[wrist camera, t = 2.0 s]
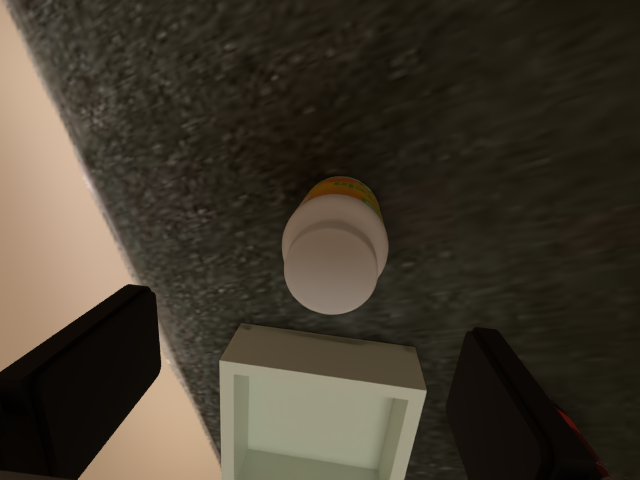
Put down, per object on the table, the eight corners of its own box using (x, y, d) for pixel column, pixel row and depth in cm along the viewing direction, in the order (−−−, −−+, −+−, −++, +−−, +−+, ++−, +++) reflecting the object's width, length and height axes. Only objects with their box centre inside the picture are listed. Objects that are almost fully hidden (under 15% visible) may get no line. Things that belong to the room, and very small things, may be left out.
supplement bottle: (395, 202, 22) (423, 256, 13) (352, 263, 24) (350, 349, 15) (327, 159, 22) (306, 184, 12) (288, 225, 23) (245, 289, 14)
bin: (241, 322, 27) (219, 360, 22) (415, 347, 26) (426, 390, 21) (240, 446, 31) (222, 497, 27) (386, 471, 30) (391, 526, 26)
